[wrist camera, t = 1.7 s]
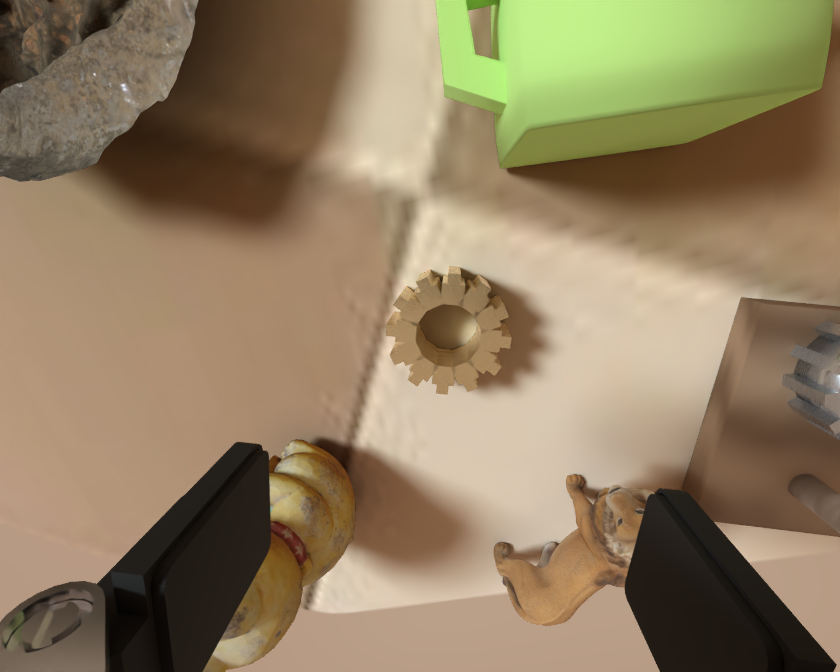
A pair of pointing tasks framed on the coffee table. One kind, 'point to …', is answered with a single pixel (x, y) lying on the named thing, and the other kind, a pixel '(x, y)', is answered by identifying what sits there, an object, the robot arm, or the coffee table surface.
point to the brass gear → (446, 361)
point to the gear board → (766, 429)
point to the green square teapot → (629, 69)
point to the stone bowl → (82, 76)
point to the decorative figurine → (290, 550)
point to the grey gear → (818, 379)
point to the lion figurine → (577, 556)
